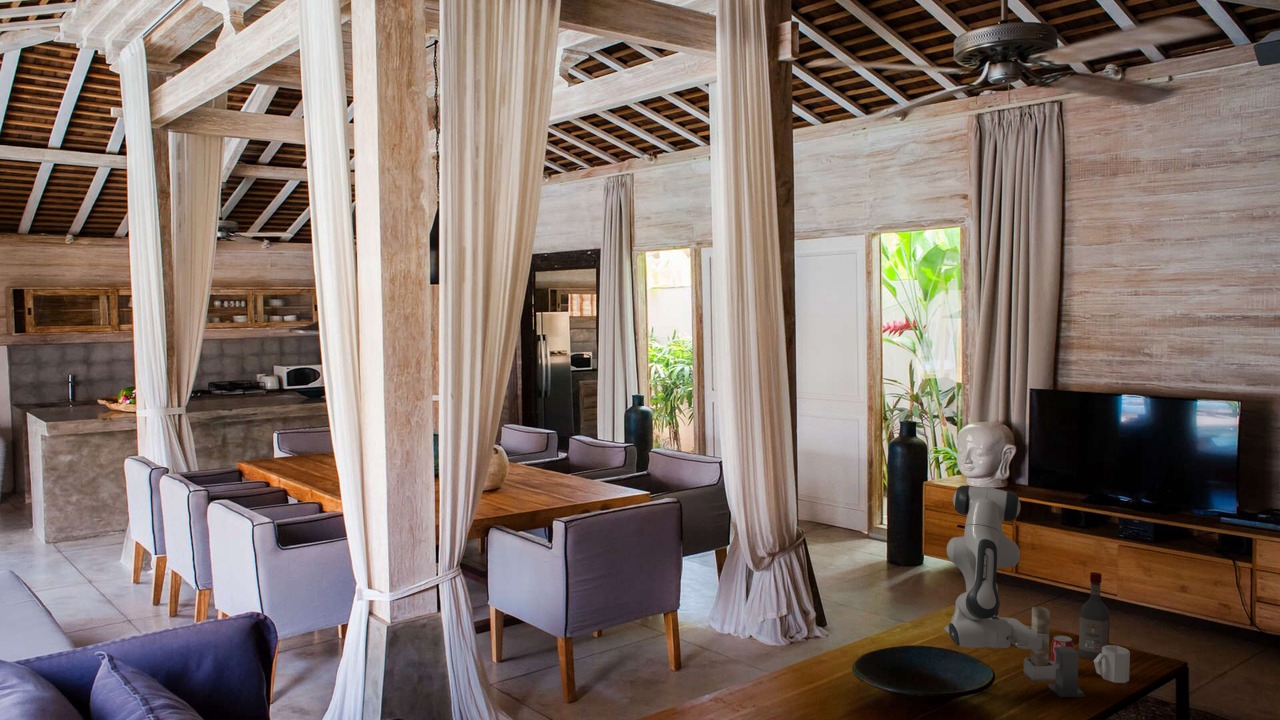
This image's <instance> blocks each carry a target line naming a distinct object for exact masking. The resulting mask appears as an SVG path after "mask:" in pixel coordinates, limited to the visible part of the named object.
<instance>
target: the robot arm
mask: <svg viewBox="0 0 1280 720" xmlns="http://www.w3.org/2000/svg"><path fill="white" fill-rule="evenodd" d="M1020 501H1021V500H1020V497H1019V496H1018V495H1017V493H1015V492H1013V491H1009V490H1007V491H1006V490H1002V489H998V488H995V487H992V486H987V485H986V486H970V485H960V486H958V487H957V489H956V490H955V492H954V494H953V497H952V504H953V506H954V511H956V513H958V514H960V515H962V516H966V518H965V519H966V520H965V525H964V532H963V536H955V537H951V539H950V540H949V541H948V542H947V545H946V554H947V557H948V560H949V561H950V562H951V563H953V564H954V565H955V566H956V567H957V568H958V569H959V570H960V572H961V573H962V575H963V578H964V582H965V592H962V593H961V594H959V595H958V596H957V598H956V599H955V603H954V614H953V615H952V616H951V621H950V622H949V625H946V626H944V631H945V632H947V634H949V636H950V639H951V641H952V642H953V643H954V644H955V645H956V646H958V647H961V648H968V649H982V648H990V649H1009V648H1010V647H1011V646H1012V645H1014V646H1015V647H1017V648H1019V649H1021V650H1022V649H1023V650H1031V649H1041V648H1042V640H1047V639H1048V634H1046V633H1041V634H1036V633H1034V632H1033V631H1032V625H1031V626H1029V625H1025V624H1023V623H1022V622H1021V621H1020V620H1018V619H1017V618H1014V617H1006V616H1003V617H1001V616H999V611H1000V605H1001V604H1000V603H1001V602H1000V601H1001V600H1000V597H999V594H998V590H999V587H998V583H997V569H1005V568H1006V569H1007V568H1012V567H1013V568H1014V567H1015V566H1016V565H1017V564H1018V562H1019V561H1020V557H1021V551H1020V548H1019V546H1018V545H1017V543H1016V542H1015V541H1013V540H1012V539H1010V538H1009V537H1007V535H1006V534H1004V532H1003V531H1004V530H1003V521H1004V522H1013V521H1015V520H1017V517H1018V516H1019V514H1020V512H1021V502H1020Z"/></svg>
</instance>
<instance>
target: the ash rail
mask: <svg viewBox="0 0 1280 720" xmlns="http://www.w3.org/2000/svg"><path fill="white" fill-rule="evenodd" d="M1050 617H1051V611H1050V610H1049V609H1048V608H1046V607H1044V606H1037V607H1036V606H1032V607H1031V627H1032V631H1033V632H1034V633H1036V634H1041V633H1046V634H1048V639H1047V640H1042V648H1041V649H1030V658H1031V662H1032V663H1033V664H1034V665H1036V666H1047V665H1048V664H1049V661H1050V660H1049V658H1050V656H1049V655H1050V627H1051V625H1050V624H1051V623H1050V621H1051V618H1050Z"/></svg>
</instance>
